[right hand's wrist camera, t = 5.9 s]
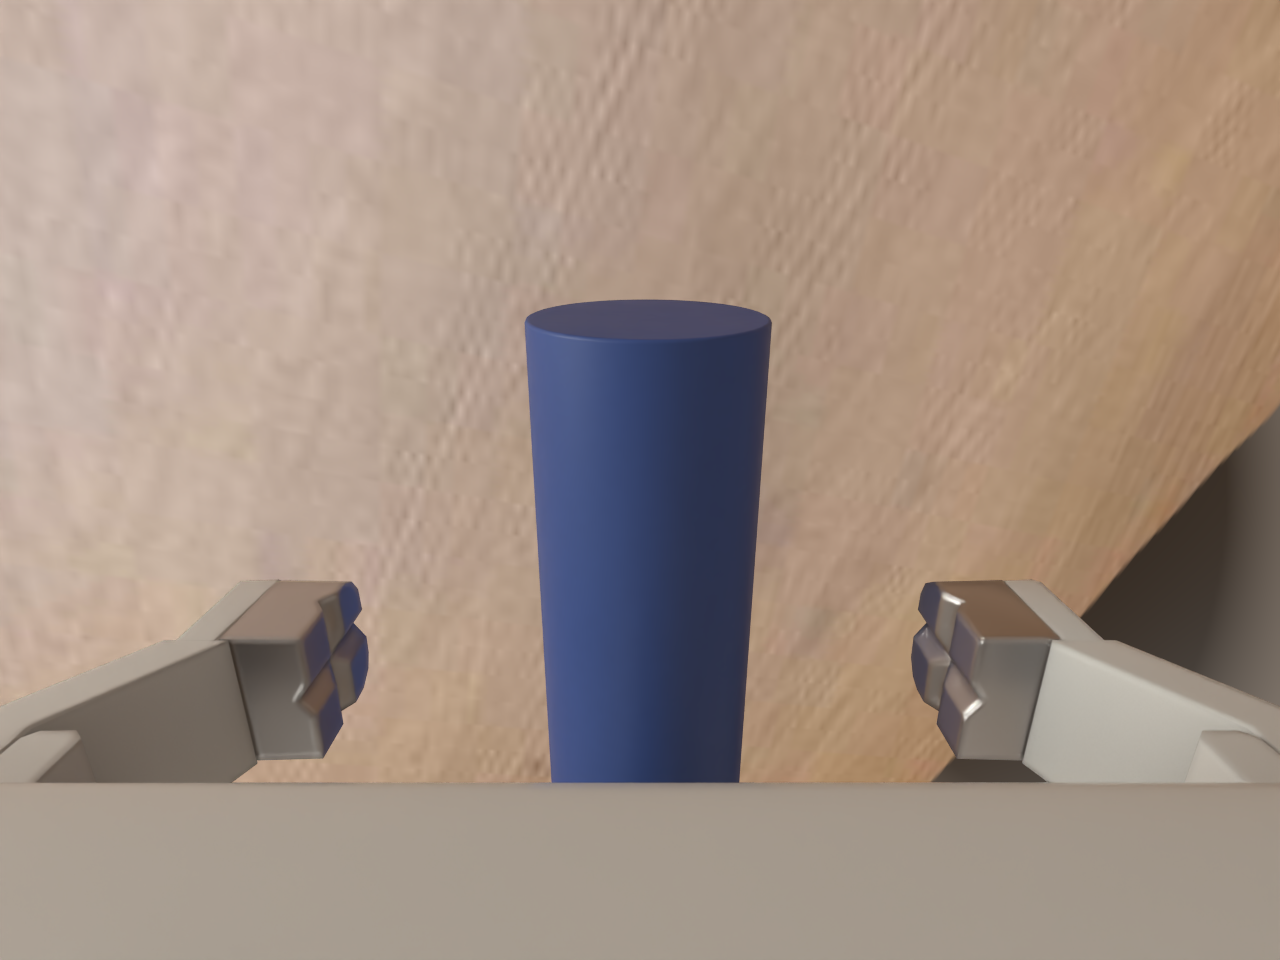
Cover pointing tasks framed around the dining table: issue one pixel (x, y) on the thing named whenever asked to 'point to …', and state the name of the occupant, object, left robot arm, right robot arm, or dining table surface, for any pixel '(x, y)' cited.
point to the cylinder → (646, 532)
